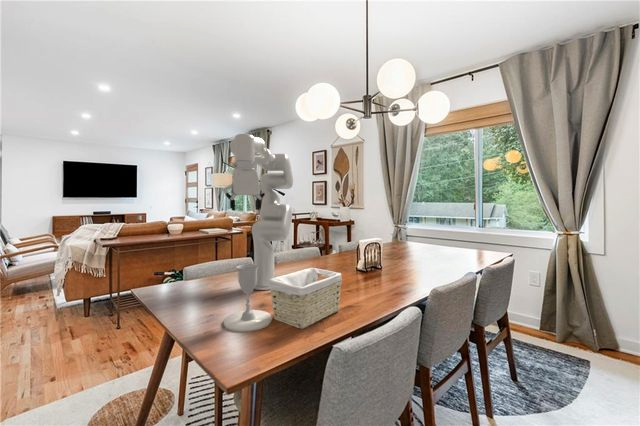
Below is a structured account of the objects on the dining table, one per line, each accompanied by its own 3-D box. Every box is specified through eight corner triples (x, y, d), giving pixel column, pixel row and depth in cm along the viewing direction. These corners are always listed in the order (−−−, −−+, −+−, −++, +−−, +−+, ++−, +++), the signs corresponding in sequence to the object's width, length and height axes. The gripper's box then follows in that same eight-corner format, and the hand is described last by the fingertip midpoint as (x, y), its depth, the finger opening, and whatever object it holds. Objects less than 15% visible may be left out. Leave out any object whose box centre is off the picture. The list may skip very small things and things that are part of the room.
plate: (263, 310, 117) (263, 307, 117) (278, 325, 103) (278, 322, 103) (219, 317, 110) (219, 314, 110) (229, 335, 96) (229, 332, 96)
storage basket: (300, 332, 99) (301, 287, 98) (266, 319, 109) (266, 278, 108) (343, 311, 117) (343, 272, 116) (311, 302, 127) (311, 266, 127)
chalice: (260, 314, 110) (259, 264, 110) (257, 321, 104) (257, 268, 103) (239, 314, 110) (238, 264, 109) (235, 322, 103) (234, 269, 102)
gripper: (224, 164, 114) (225, 211, 115) (269, 166, 122) (269, 209, 123) (220, 166, 120) (221, 210, 121) (263, 168, 128) (263, 209, 129)
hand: (245, 210), depth 122 cm, fingers open, 9 cm apart
